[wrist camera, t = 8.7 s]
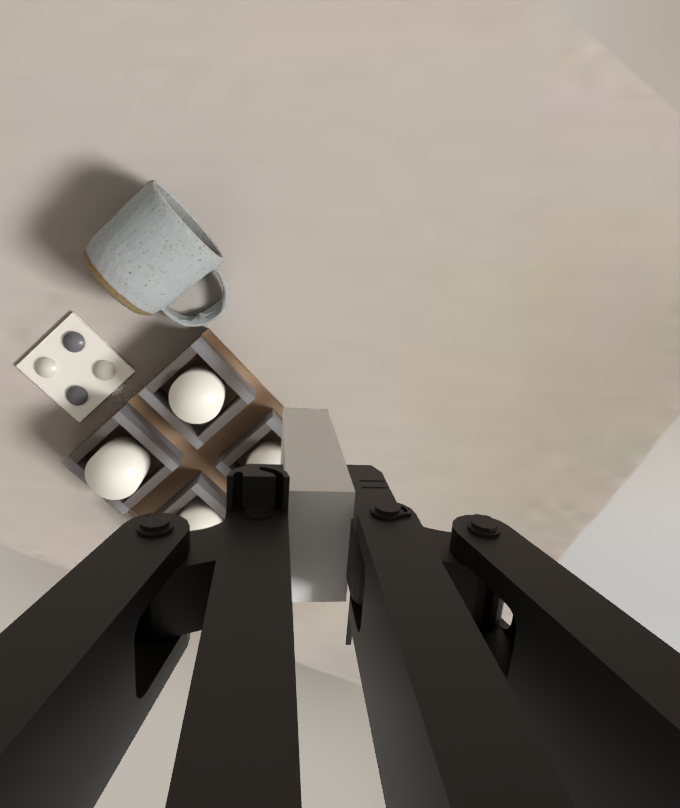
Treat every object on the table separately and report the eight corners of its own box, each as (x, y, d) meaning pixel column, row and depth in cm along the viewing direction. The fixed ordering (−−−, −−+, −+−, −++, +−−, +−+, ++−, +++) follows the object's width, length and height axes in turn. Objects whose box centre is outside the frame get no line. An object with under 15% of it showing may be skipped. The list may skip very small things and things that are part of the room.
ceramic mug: (94, 251, 43) (58, 250, 36) (165, 184, 42) (143, 169, 35) (186, 345, 46) (170, 361, 39) (254, 284, 45) (250, 289, 38)
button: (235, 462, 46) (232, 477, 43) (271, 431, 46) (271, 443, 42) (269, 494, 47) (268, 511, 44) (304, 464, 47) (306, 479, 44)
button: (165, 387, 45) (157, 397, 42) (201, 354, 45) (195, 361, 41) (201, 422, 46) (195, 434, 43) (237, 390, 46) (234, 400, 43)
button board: (74, 450, 47) (56, 466, 43) (208, 328, 46) (201, 333, 42) (199, 559, 51) (193, 582, 48) (325, 450, 50) (329, 466, 46)
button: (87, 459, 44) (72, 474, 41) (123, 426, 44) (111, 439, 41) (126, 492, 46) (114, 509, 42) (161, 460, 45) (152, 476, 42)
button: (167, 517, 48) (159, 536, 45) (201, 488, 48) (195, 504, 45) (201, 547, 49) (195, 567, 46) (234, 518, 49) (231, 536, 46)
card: (17, 365, 44) (14, 366, 44) (74, 311, 44) (71, 312, 43) (80, 421, 46) (78, 423, 46) (135, 371, 46) (134, 372, 45)
